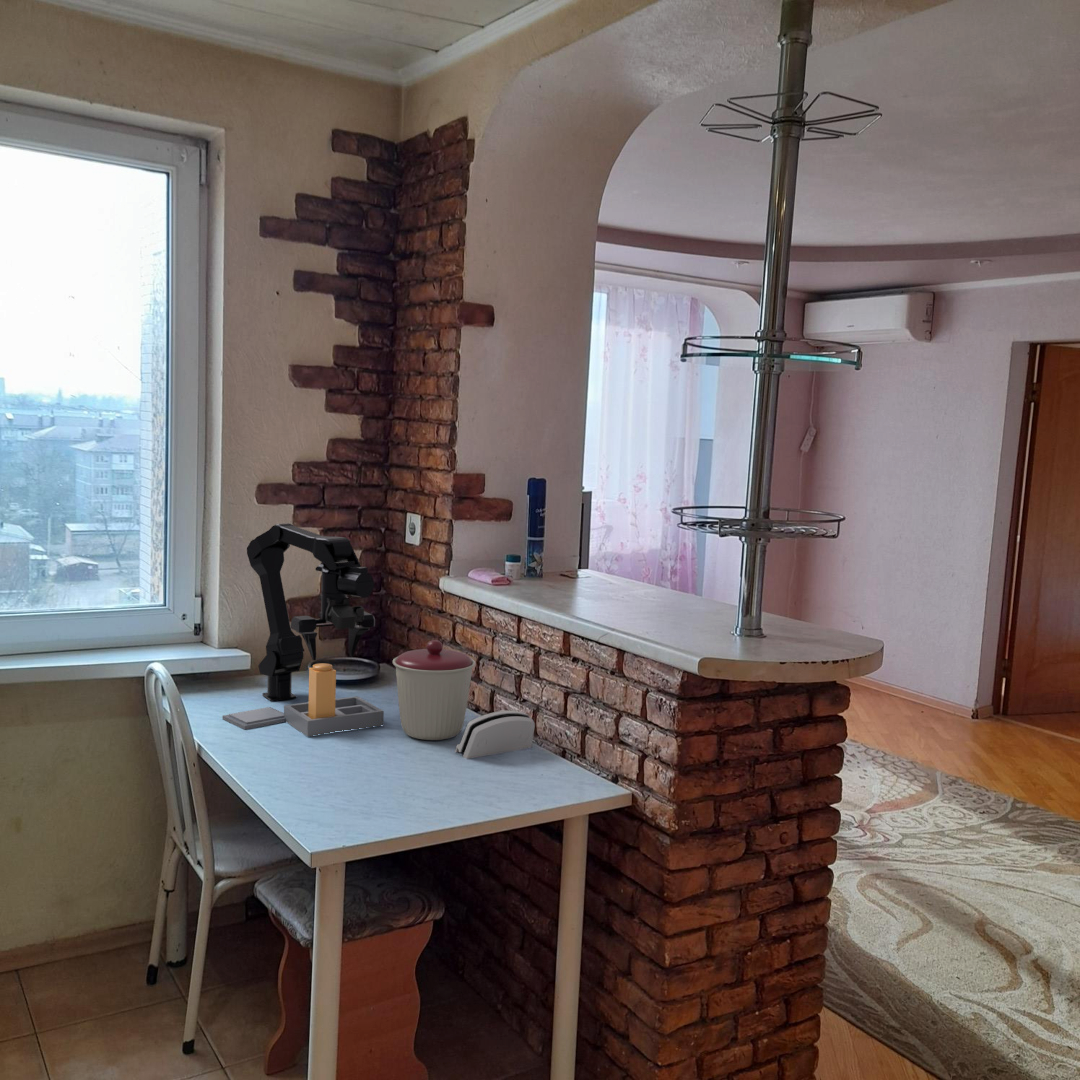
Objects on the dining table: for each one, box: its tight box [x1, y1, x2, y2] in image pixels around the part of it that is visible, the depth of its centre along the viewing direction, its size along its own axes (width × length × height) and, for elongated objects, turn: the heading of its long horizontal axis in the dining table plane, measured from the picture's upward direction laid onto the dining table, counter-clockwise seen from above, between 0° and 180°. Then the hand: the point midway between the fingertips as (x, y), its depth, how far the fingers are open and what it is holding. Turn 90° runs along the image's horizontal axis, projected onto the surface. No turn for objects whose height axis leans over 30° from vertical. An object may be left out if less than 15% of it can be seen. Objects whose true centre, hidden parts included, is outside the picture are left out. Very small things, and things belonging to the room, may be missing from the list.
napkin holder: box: [454, 710, 536, 760], centre depth 218 cm, size 17×5×10 cm, turn 125°
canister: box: [392, 639, 476, 741], centre depth 227 cm, size 18×18×21 cm
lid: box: [222, 706, 287, 730], centre depth 233 cm, size 10×12×1 cm
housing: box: [283, 695, 385, 737], centre depth 233 cm, size 14×18×4 cm
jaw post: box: [308, 663, 337, 719], centre depth 228 cm, size 4×4×13 cm
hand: (332, 658), depth 240 cm, fingers open, 9 cm apart
